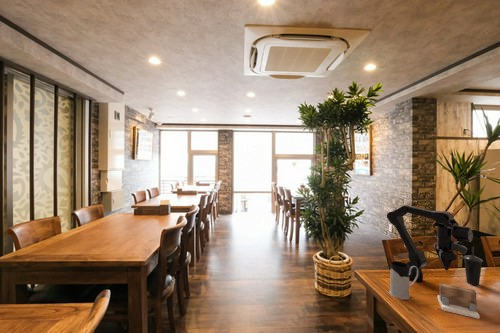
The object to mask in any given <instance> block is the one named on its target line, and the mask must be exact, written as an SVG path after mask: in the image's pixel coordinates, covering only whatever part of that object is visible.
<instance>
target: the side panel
mask: <svg viewBox="0 0 500 333" xmlns="http://www.w3.org/2000/svg"><path fill="white" fill-rule="evenodd" d="M437 300H438V303H439V305H440V307H441V310H442V311H445V312H449V313H453V314H458V315H461V316H466V317H470V318H474V319H478V320H480V314H479V312H478V310H477V303H476V304H473V303H469V308H468V307H464V306H459V305H455V304H451V303H449V299H448V298H446V297H442V301H440V298H439V294H437Z"/></svg>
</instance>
